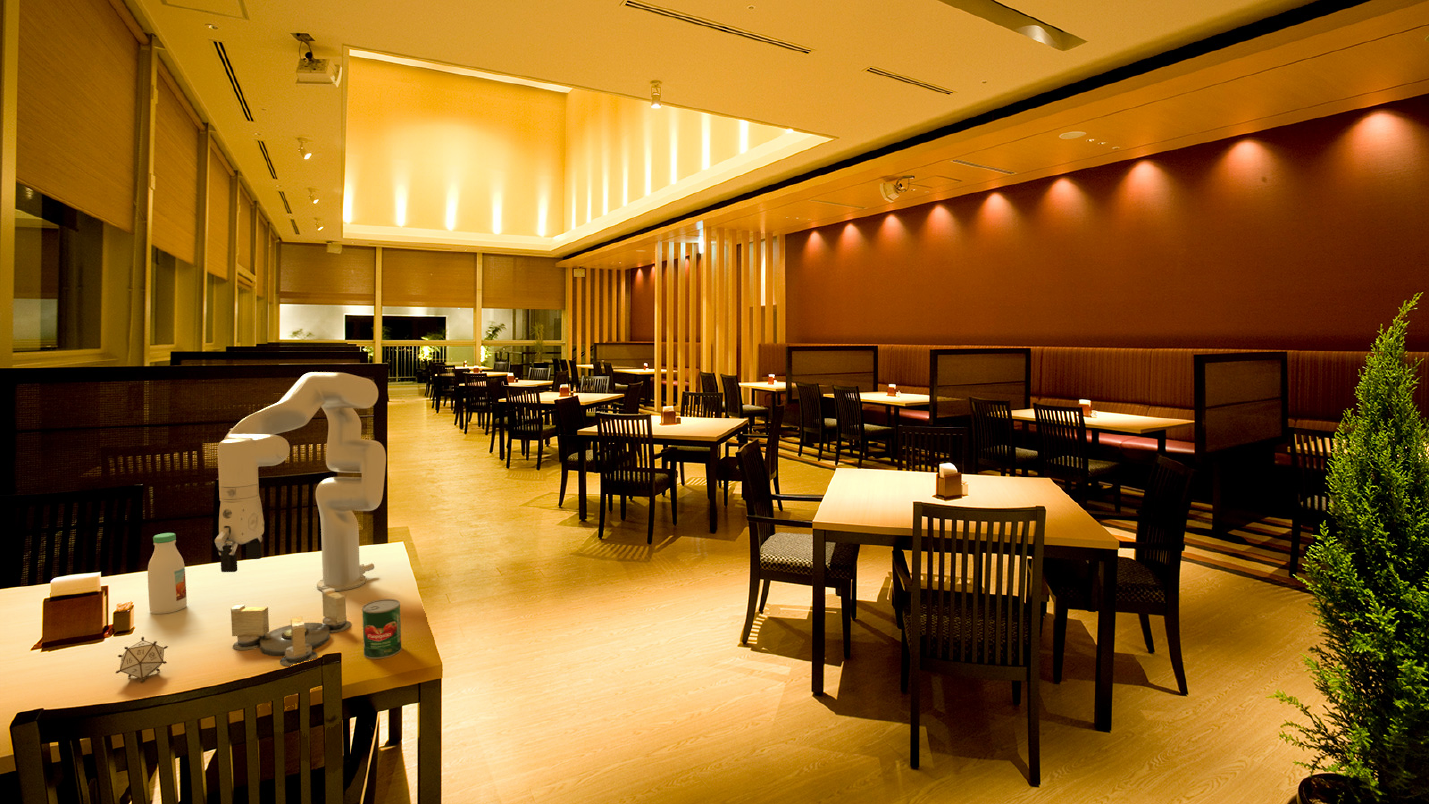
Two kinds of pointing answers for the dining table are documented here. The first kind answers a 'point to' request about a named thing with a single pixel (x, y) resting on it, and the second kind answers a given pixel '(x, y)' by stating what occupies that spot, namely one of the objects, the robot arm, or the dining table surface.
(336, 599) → the knob near
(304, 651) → the knob
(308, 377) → the robot arm
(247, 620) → the knob
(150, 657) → the game die
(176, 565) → the milk bottle
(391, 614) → the canned tomato
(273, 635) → the plate
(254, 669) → the dining table surface
